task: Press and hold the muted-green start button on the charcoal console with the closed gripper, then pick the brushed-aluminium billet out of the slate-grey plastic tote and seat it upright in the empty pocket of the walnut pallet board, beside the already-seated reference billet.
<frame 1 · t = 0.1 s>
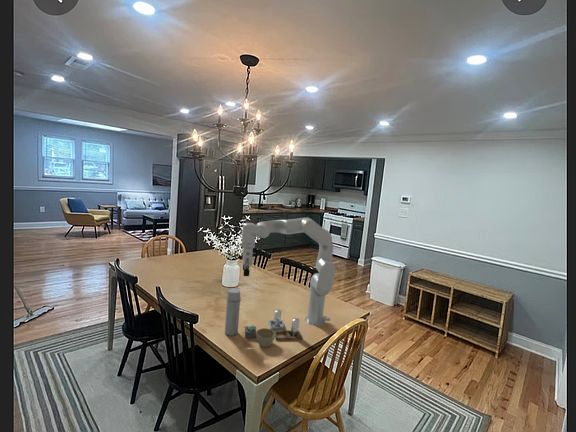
hand: (245, 273, 178), 31 cm above the table, fingers open, 9 cm apart
billet: (276, 326, 181), point 1 cm above the table, touching tote
tote: (276, 327, 181), on the table
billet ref: (293, 336, 172), point 1 cm above the table, touching pallet board
start button: (250, 328, 169), point 4 cm above the table, slide at 0.0 cm
water bottle: (231, 334, 170), on the table
console: (250, 335, 170), on the table
flower pot: (264, 346, 162), on the table
pallet board: (287, 338, 171), on the table
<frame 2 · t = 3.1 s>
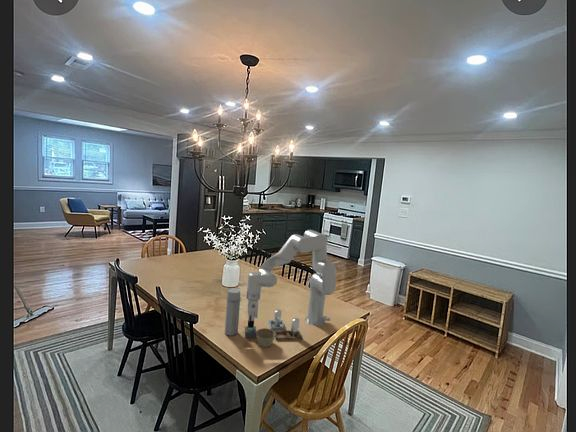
hand: (250, 326, 169), 6 cm above the table, fingers closed
start button: (250, 329, 169), point 4 cm above the table, slide at 0.5 cm, touching gripper
everything else where it was.
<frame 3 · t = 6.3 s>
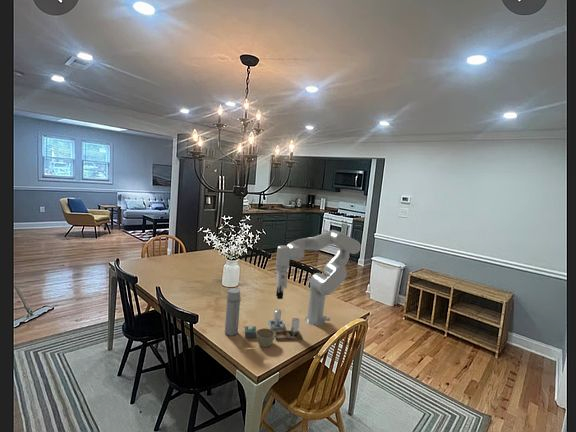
hand: (279, 297, 178), 19 cm above the table, fingers closed
start button: (250, 330, 169), point 3 cm above the table, slide at 1.2 cm
everything else where it was.
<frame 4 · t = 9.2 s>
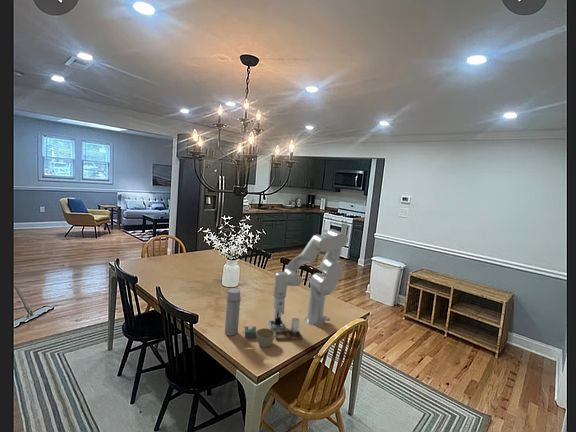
hand: (277, 322, 181), 3 cm above the table, fingers closed on billet, 4 cm apart
billet: (276, 326, 181), point 1 cm above the table, touching gripper, tote
everything else where it was.
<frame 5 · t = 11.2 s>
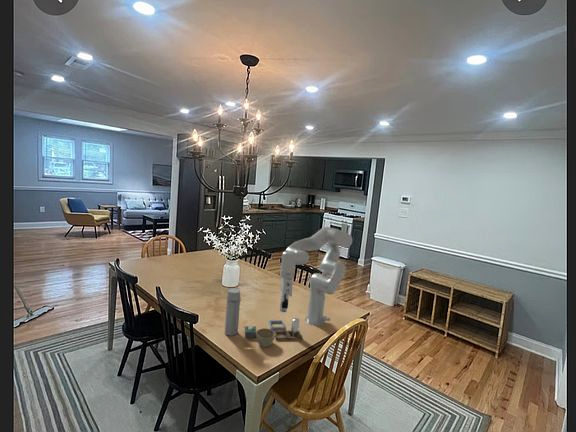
hand: (284, 305, 168), 19 cm above the table, fingers closed on billet, 4 cm apart
billet: (283, 310, 168), point 16 cm above the table, touching gripper
everything else where it was.
when the fingers open (5 cm above the table, at t = 13.1 s): billet drops 1 cm, resting on pallet board.
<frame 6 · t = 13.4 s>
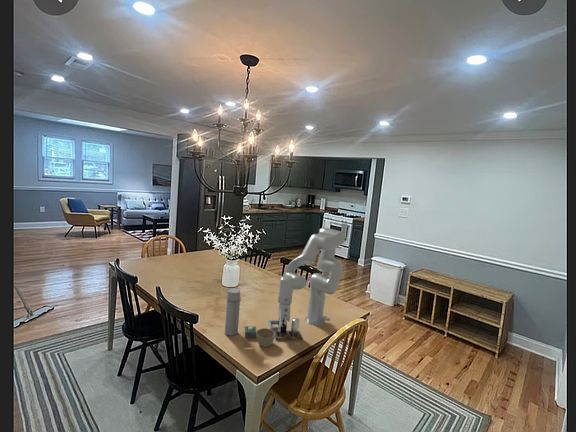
hand: (282, 329, 170), 6 cm above the table, fingers open, 7 cm apart
billet: (281, 336, 170), point 1 cm above the table, touching pallet board
everything else where it was.
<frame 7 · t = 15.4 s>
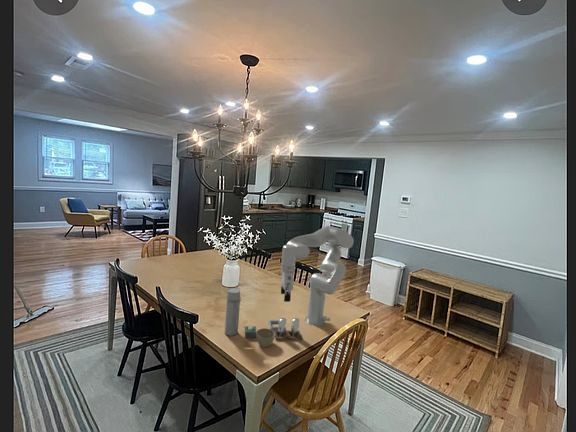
hand: (285, 297, 168), 23 cm above the table, fingers open, 9 cm apart
nothing on the table moved.
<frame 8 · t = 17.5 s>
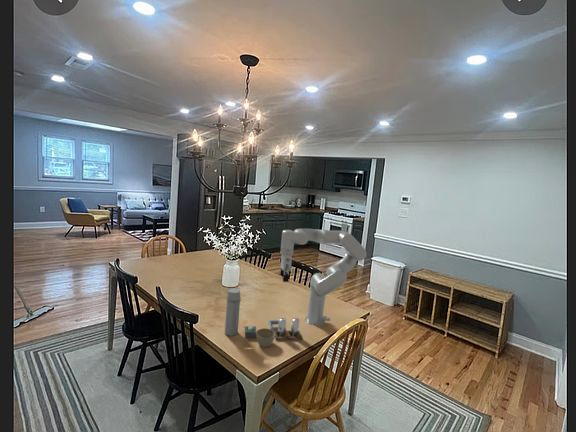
hand: (284, 278, 183), 28 cm above the table, fingers open, 9 cm apart
nothing on the table moved.
at the end: billet 0.1 cm from the target spot on the pallet board, point 1.2 cm above the pallet board's base; billet tilted 1°; start button slide at 1.2 cm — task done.
